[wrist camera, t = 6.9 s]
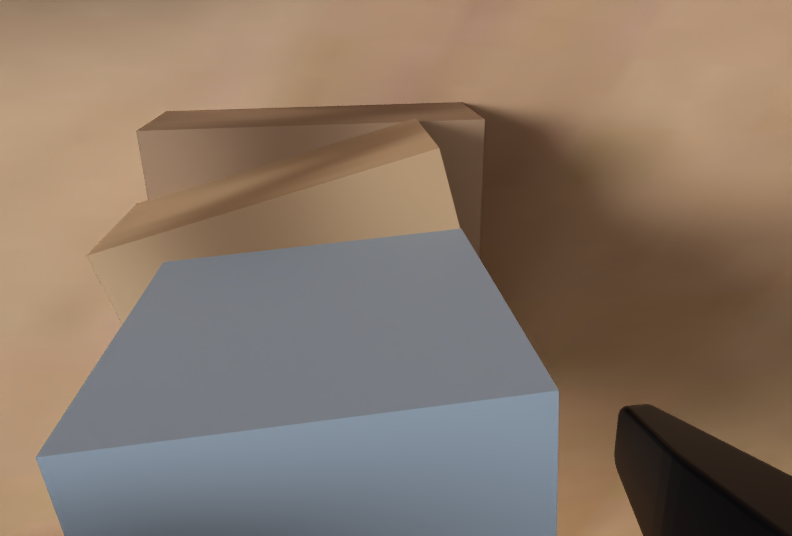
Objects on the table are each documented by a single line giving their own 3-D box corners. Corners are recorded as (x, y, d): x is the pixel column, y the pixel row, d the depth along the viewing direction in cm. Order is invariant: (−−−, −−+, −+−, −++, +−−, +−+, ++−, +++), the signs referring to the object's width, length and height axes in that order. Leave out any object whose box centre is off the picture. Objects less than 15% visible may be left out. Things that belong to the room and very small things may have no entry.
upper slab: (416, 118, 13) (439, 148, 10) (481, 360, 15) (513, 437, 13) (137, 203, 13) (86, 255, 10) (243, 431, 16) (225, 523, 13)
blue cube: (461, 228, 11) (559, 390, 6) (472, 464, 13) (554, 722, 8) (163, 261, 11) (34, 456, 6) (220, 498, 12) (157, 785, 8)
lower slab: (457, 99, 16) (485, 119, 13) (452, 345, 19) (474, 404, 16) (170, 108, 15) (136, 130, 13) (207, 361, 18) (186, 425, 15)
